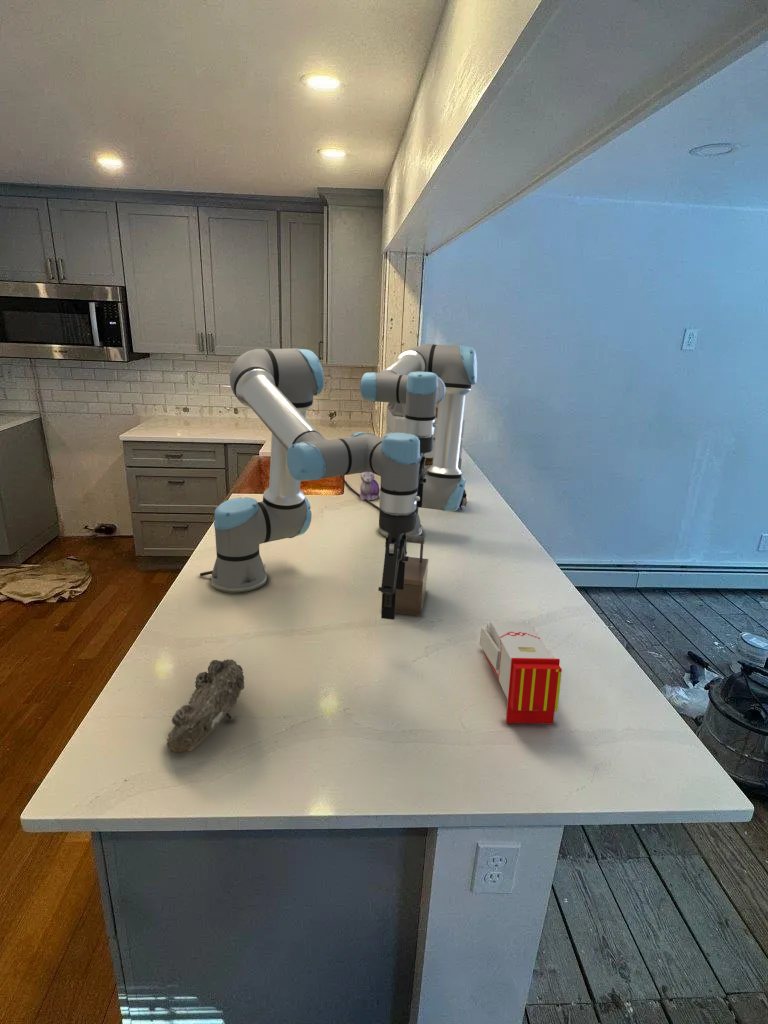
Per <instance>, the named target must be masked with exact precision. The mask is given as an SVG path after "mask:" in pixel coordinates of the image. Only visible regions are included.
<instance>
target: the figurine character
mask: <svg viewBox="0 0 768 1024" xmlns="http://www.w3.org/2000/svg"><path fill="white" fill-rule="evenodd" d="M467 503H468V498H467V492H466V488H464V492H463V496H462V499H461V502H460V505H459V509H460V511H463V507H464V508H465V507H467Z"/></svg>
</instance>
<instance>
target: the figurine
mask: <svg viewBox="0 0 768 1024" xmlns="http://www.w3.org/2000/svg"><path fill="white" fill-rule="evenodd" d="M360 479H361V484H360V487H359V491H360V493H359V494H360V497H359V498H360V500H361V501H365V500H364V499H367V500H368V501H374V500H377V499H379V498H380V484H379V483H378V481H377V480H376V479H375V474H374V473H371V472H363V473H360Z"/></svg>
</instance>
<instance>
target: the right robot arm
mask: <svg viewBox="0 0 768 1024" xmlns="http://www.w3.org/2000/svg"><path fill="white" fill-rule="evenodd" d="M477 381H478V359H477V352H476V350H475V348H474V347H471V346H466V345H465V346H464V345H455V344H454V345H451V344H434V343H427V344H419V345H417V346H413V347H411V348H408V349H406V350H404V351H403V352H401V353H400V354H399V355H398V356H397V358H396V359H395V361H394V362H393V363H391V364H390V365H389V366H387V367H386V368H384V369H383V370H381V371H380V372H375V371H373V372H365V373H363V375H362V377H361V380H360V396H361V398H362V399H363V401H370V402H373V403H376V402H377V403H378V402H379V403H401V404H406V414H405V424H404V433H406V434H412V435H415V436H417V437H418V439H419V440H420V456H421V458H420V462H419V476H418V487H417V488H418V489H417V495H416V496H419V497H420V500H419V501H417V503H416V510H415V512H416V523H415V529H414V530H413V531H411V532H409V533H406V535H414V536H422V535H423V525H422V524H421V518H420V515H419V508H422V509H428V510H436V511H442V512H456V511H457V510H458V509H460V507H459V505H460V502H461V499H462V496H463V492H464V489H466V478H464V477H463V476H462V475H463V474H462V470H461V471H460V470H459V468H458V461H459V452H460V442H461V440H462V438H461V433H462V423H463V419H464V412H465V403H466V395H467V394H468V393H469V392H470V391H471V390H472V386H474V385H476V384H477ZM436 404H438V412H437V423H434V421H435V410H436ZM434 427H436V433H435V443H434V454H433V464H432V465H430V466H429V467H428V468H427V471H426V473H425V467H426V466H425V461H426V457H425V453H428V452H431V451H432V450H433V440H434V438H433V436H432V435H433V434H434ZM339 477H340V478H341V480H342V482H343V483H344V484H345V485H346V486H347V488H348V489H349V490H350V491H352V492H353V493H354V494H355V495H356V496H357V497H359V498H360V494H361V493H358V492H357V491H356V490H354V489H353V487H351V486H350V484H349V483H347V481H346V480H345V478H344V477H343V475H342V476H339ZM363 501H365V502H366V503H368V504H369V505H371V506H373V507H374V508H375V509H377V510H378V511H380V510H381V509H380V507H379V506H378V505H376V504H374V503H373V502H371V500H369V501H368V500H367V499H364V500H363ZM378 533H379V534H380V535H381V536H382V537H385V538H388V532H386V531H383V530H382V529H381V528H380V527H379V526H378Z"/></svg>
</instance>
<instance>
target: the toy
mask: <svg viewBox="0 0 768 1024" xmlns="http://www.w3.org/2000/svg"><path fill="white" fill-rule="evenodd" d="M478 642H479V643H478V644H479V646H480V647H481V650H482V651H483V654H484V655H485V657H486V659H487V661H488V663H489V664H490V666H491V669H492V670H493V672H494V674H495V676H496V678H497V679H498V682H499V684H500V687H501V688H502V691H503V693H504V695H505V697H506V699H507V706H506V717H505V722H506V724H547V725H549V724H551V725H553V724H554V718H555V712H558V711H559V710H558V709H559V698H560V689H561V682H562V681H561V680H562V672H563V671H562V667H561V666H560V663H561V659H560V658H554V656H553V654H552V653H551V651H550V650H549V649H548V647H547V646H546V644H545V643H544V642H543V640H542V638H540V636H539V635H538V633H537V631H536V630H535V627H534V626H532V625H531V623H530V622H529V620H528V621H527V620H526V621H525V620H524V621H523V620H490V621H489V622H487V623H486V628H485V626H480V634H479V641H478Z"/></svg>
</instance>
